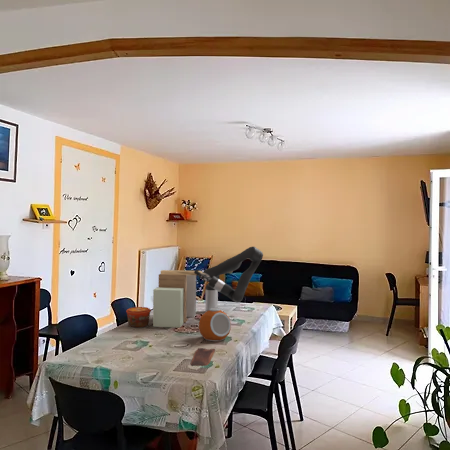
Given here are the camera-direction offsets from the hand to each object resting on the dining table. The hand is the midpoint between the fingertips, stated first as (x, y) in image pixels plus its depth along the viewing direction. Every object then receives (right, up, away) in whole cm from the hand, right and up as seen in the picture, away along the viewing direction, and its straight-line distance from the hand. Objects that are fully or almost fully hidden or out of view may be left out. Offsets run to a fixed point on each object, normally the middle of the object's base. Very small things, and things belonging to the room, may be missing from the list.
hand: (195, 271), depth 290 cm
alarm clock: (+14, -36, -39) cm, 54 cm away
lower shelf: (-17, -35, -10) cm, 40 cm away
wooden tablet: (+9, -37, -73) cm, 82 cm away
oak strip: (-10, -3, +1) cm, 10 cm away
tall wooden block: (-16, -35, +2) cm, 38 cm away
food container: (-37, -35, -11) cm, 52 cm away
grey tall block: (-8, -35, +17) cm, 39 cm away
